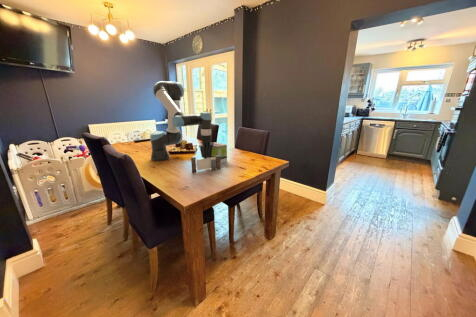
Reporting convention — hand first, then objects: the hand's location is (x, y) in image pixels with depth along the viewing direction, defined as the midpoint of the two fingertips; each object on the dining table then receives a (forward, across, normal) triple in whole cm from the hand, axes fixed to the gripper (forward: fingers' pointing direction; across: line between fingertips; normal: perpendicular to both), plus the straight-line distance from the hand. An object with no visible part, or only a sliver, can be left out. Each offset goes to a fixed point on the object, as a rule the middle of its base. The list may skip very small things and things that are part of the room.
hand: (206, 165), depth 144 cm
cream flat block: (+1, -3, -2) cm, 4 cm away
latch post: (+2, +5, -7) cm, 9 cm away
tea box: (+3, +19, +6) cm, 20 cm away
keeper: (+2, 0, -6) cm, 7 cm away
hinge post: (+3, -11, +2) cm, 11 cm away
